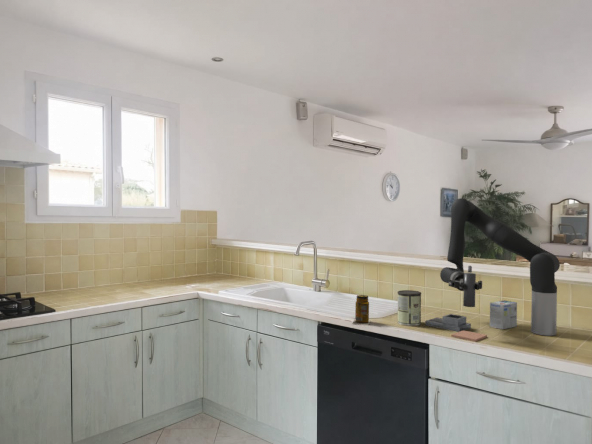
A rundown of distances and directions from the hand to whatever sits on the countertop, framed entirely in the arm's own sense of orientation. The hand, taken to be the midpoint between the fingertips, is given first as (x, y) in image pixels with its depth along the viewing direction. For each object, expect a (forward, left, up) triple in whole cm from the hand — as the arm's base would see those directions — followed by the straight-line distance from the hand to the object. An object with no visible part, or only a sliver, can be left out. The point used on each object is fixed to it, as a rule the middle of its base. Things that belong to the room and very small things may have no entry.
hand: (471, 287), depth 180 cm
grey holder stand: (-11, -16, -20) cm, 28 cm away
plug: (-2, -2, -8) cm, 8 cm away
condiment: (+11, -46, -21) cm, 51 cm away
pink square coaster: (-2, -2, -20) cm, 20 cm away
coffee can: (-4, -31, -20) cm, 37 cm away
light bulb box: (-30, 0, -21) cm, 36 cm away
